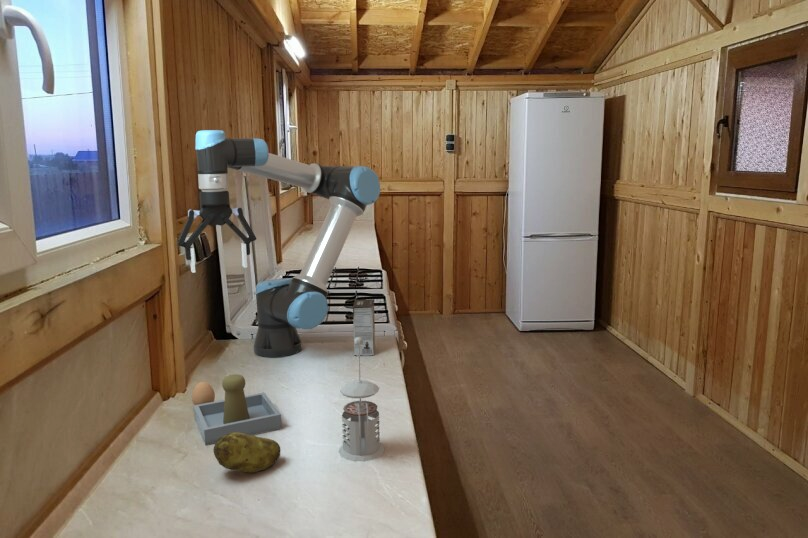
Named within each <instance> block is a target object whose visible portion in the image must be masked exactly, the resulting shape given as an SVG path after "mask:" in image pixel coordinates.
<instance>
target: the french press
mask: <svg viewBox="0 0 808 538" xmlns="http://www.w3.org/2000/svg"><path fill="white" fill-rule="evenodd" d="M354 343H355V344H358V353H359V356H358V379H357V380H354V381H350V382H347V384H345V385H343V386H342V387H341V388H340V393H341V394H342V395H343V396H344V397H346V398H350V399H359V400H353V401H351V402H347V403H346V404H345V405H344V406H343V412H342V415H341V421H342V422H343V423H342V424H341V425H342V427H341V428H342V431H341V432H342V439H343V440H342V445H341V446H340V447H339V449H338V454H339V456H340V457H341V458H344V459H345V460H348V461H353V462H366V461H371V460H374V458H375V459H377V458H379V457H381V456H382V455H383V454H384V452H385V446H384V445H383V444H382V443H381V442H380V438H381V437H380V412H379V411H378V405H377V404H376V403H375V402H373V401H369V400H368V401H367V400H362V399H366V398H367V399H368V398H370V397H372V396H375V395H376V394H377V393H378V392H379V390H380V387H379V386H378V385H377V384H376V383H374V382H371V381H368V380H365V379H364V380H361V359H360V357H361V356H360V347H359V344H362V343H363V339H362V338H360V337H357V338H355V339H354V338H353V344H354ZM369 417H370V419H369ZM371 418H372V419H371ZM349 419H350V420H349ZM346 432H347V433H346Z"/></svg>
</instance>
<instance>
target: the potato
mask: <svg viewBox="0 0 808 538" xmlns="http://www.w3.org/2000/svg"><path fill="white" fill-rule="evenodd" d="M213 454H214V455H213V456H214V458H215V459H216V461H217V462H218V464H219V465H220V466H221V467H223V468H225V470H231V471H239V472H243V473H257V472H260V471H263V470H265V469H268V468H269V467H271V466H272V465H274V464H275V463H276V462H277V461H278V459H279V458H280V456H281V446H280V444H279V443H278V442H277V440H274V439H270V438H268V437H263V436H262V437H261V436H256V435H247V434H243V433H230V434H227V435H224V436H223V437H220V438H219V439H218V440H217V442H216V443H214V446H213Z"/></svg>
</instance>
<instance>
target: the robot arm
mask: <svg viewBox="0 0 808 538" xmlns="http://www.w3.org/2000/svg"><path fill="white" fill-rule="evenodd" d="M194 148H195V149H194V150H195V153H196V164H197V177H198V178H197V180H198V181H197V182H198V189H199V190H201V191H199V194H198V195H199V204H200V206H199V210H194V209H188V210H187V219H186V221H185V223H184V226H183V227H182V230H181V232H180V235H179V237H178V239H177V242H176V244H177V245H178V246H179V247H182V248H184V253H185V259H186V261H189V262H190V264H189V265H190V271H191V273H192V274H193V273H196V262H195V251H194V250H195V249H194V247H193V246H192V245H193V244H194V243H195V241H196V240H197V238H199V237H200V235H201V234H202V232H203V231H204V230H205V229H206V228H207V227H208V226H209V227H215V226H221V227H222V226H224V225H227V226H228V227H229V228H230V229H231V230H232V231H233V232H234V233H235V234H236V235H237V236H238V237H239V239H241V240H242V242H240V246H241V247H240V249H241V266H242V268H244V269H247V268H248V258H247V256H250V255H251V245H250V244H251V243H252V242H255V241H256V240H257V237H256V235H255V232H254V230H252V228H251V226H250V224H249V223H248V221H247V219H246V218H245V216H244V211H243V208H242V207H239V206H236V207H235V208H231V206H230V205H231V203H230V191H228V190H227V189H229V187H230V186H229V176H228V172H229V171H228V169H231V170H236V171H240V172H243V173H247V174H250V175H255V176H257V177H258V176H259V177H261V178H266V179H268V180H269V179H270V180H273V181H276V182H280V183H284V184H287V185H290V186H293V187H294V186H295V187H298V188H302V189H303V190H304V191H305V192H306V193H308V194H311V195H315V196H318V197H321V198H322V199H323V198H324V199H326V200H328V201H329V202H330V208H329V210H328V212H327V214H326V217H325V219H324V221H323V223H322V225H321V227H320V229H319V231H318V233H317V236H316V237H315V241H314V243H313V245H312V247H311V249H310V251H309V254H308V256H307V258H306V260H305V262H304V265H303V266H302V268H301V271H300V273H299V274H298V275H295V276H293V277H292V278H288V277H287V278H275V279H266V280H263V281H259V282H257V284H256V286H255V296H256V297H255V299H256V310H257V311H256V313H257V315H256V316H257V332H256V335H255V339H254V342H253V353H254V354H255V355H256V356H259V357H266V358H282V357H287V356H292V355H295V354H298V353H299V352H300V351H301V350H302V345H303V344H302V340H301V337H300V334H299V331H298V329H300V330H301V329H302V330H312V329H314V328H317V327H318V326H320V325H321V324H322V323H323V322H324V320H325V319H326V317H327V314H328V311H329V305H328V300H327V296H328V295H329V294H328V293H329V291H328V289H327V284H328V282H329V279H330V278H331V275H332V273H333V271H334V268H335V266H336V263H337V261H338V259H339V257H340V254H341V252H342V251H343V247H344V246H345V243H346V240H348V237H349V235H350V232H351V229H352V228H353V226H354V222H355V221H356V218H357V217H359V216H362V215H363V214H364V212H365V211H366V208H367V206H369V205H371V204H374V203H375V202H376V201H377V200H378V198H379V197H380V194H381V182H380V181H379V180H380V178H379V176H378V175H377V173H376V172H375V171H374V170H373V169H372V168H370V167H368V166H363V165H356V166H355V165H354V166H352V165H351V166H349V165H346V166H345V165H323V164H318V163H313V162H312V163H310V164H306V163H303V162H300V161H297V160H295V159H294V160H293V159H290V158H287V157H284V156H281V155H277V154H274V153H270V152H269V147H268V143H267V142H266V141H265V139H262V138H254V137H252V138H251V137H249V138H248V137H246V138H245V137H243V138H242V137H241V138H235V137H234V138H230V137H227V135H226V132H225V131H224V130H219V129H215V130H214V129H211V130H210V129H207V130H206V129H203V130H198V131H196V134H195V147H194ZM232 214H234V216H235V217H237V218H238V221H239V222H240V224H241V225H242V227H243V229H244V231H245V232H246V234H247V235H245V234H244V233H243V232H242V230H240V229H239V228H238V227H237V226H236V224H234V222H233V221H232V220H231V219H230V217H231V216H232ZM198 216H199V217H201V219H202V220H201V221H200V222H199V224H198V225H197V227H196V228H195V230H193V232H192V233H191V235H190V236H189V237H188V235H189V232H190V230H191V227H192V225H193V223H194V220H195V219H196V218H197V217H198ZM247 236H248V237H247ZM187 237H188V239H187ZM186 239H187V240H186Z"/></svg>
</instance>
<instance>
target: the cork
mask: <svg viewBox="0 0 808 538" xmlns="http://www.w3.org/2000/svg"><path fill="white" fill-rule="evenodd" d="M221 384H222V386H221V387H222V388H223V390H224V400H225V402H224V418H223V423H224V424H227V423H232V422H237V421H242V420H247V419H250V418H249V413H248V408H247V404H246V399H245V396H246V395H245V390H244V389H245V388H246V387H245V386H246V380H245V377H244V376H243V375H241V374H229V375H226V376H225V377H224V378H223V380H222V381H221Z"/></svg>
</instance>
